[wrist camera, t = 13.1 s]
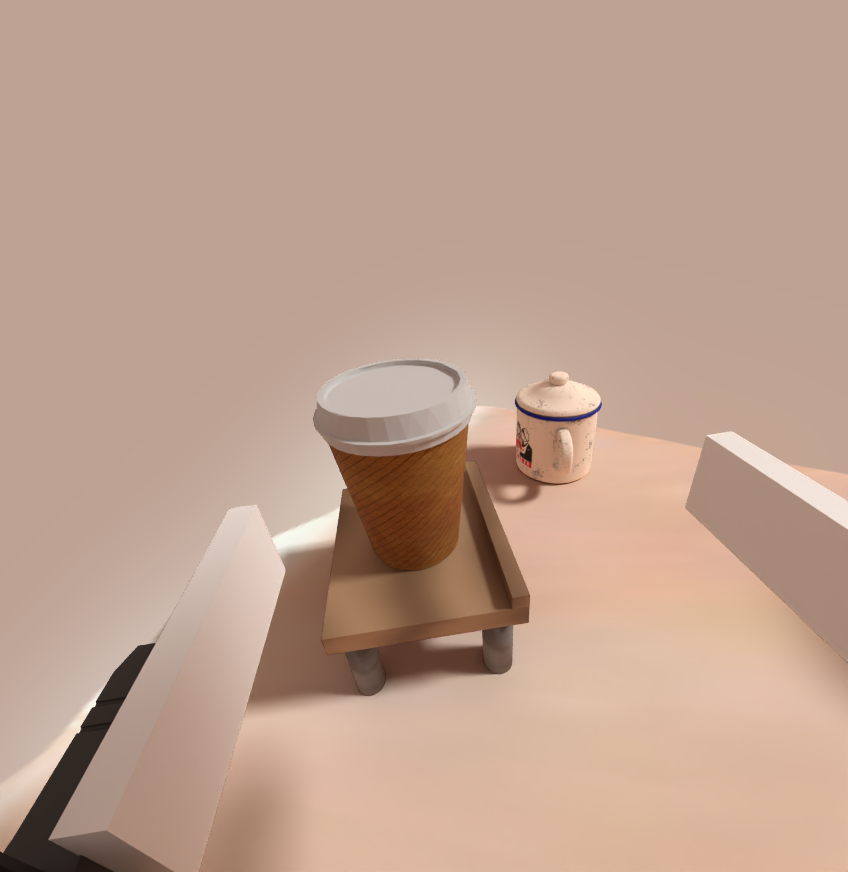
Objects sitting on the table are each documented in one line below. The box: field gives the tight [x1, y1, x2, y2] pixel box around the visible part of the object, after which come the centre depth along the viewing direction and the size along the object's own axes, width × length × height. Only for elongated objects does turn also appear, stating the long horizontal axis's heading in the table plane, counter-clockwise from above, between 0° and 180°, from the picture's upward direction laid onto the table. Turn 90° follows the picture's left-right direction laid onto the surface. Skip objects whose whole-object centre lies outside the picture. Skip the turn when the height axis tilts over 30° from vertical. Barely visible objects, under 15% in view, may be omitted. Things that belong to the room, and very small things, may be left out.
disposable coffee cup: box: [313, 358, 476, 570], centre depth 24 cm, size 10×10×12 cm
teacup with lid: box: [515, 372, 602, 483], centre depth 42 cm, size 12×9×12 cm
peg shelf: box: [321, 461, 530, 696], centre depth 29 cm, size 12×14×8 cm
